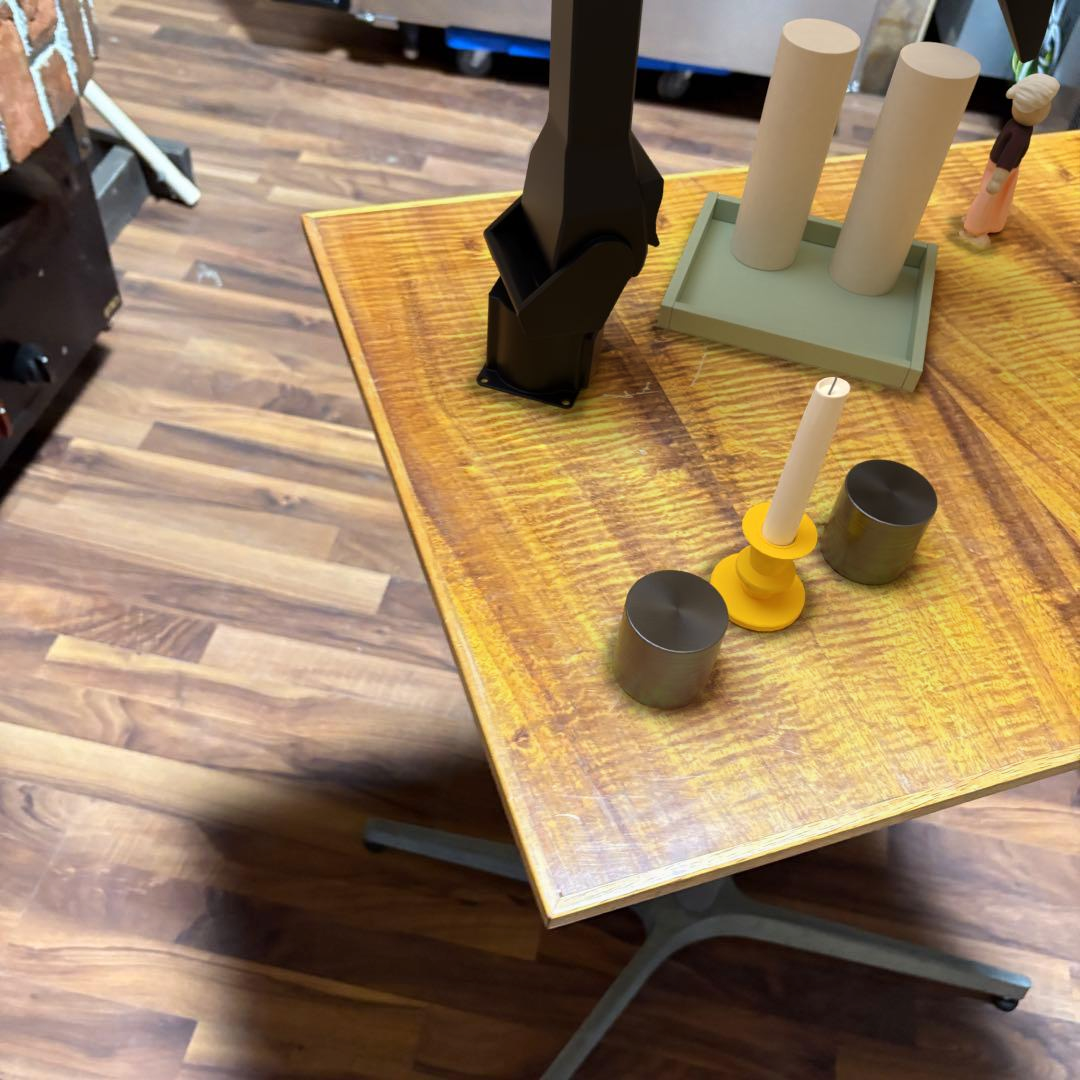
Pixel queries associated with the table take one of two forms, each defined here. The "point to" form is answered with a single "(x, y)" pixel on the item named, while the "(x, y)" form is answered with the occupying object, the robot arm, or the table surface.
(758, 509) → the candle
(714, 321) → the tray
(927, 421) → the table surface
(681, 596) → the grey tins
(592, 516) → the table surface
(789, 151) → the cream candles
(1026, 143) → the grandmother figurine
